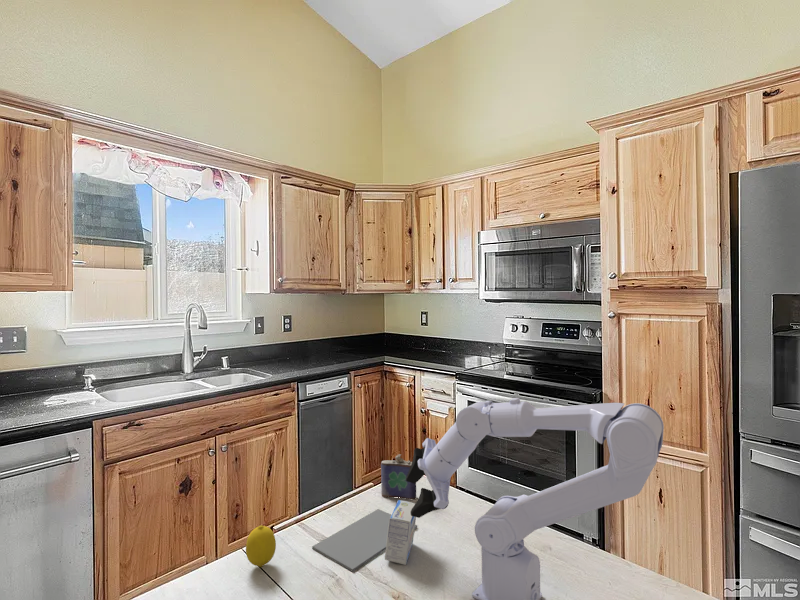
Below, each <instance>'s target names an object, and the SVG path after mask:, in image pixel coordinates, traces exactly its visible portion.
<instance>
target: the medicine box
mask: <svg viewBox="0 0 800 600" xmlns="http://www.w3.org/2000/svg"><path fill="white" fill-rule="evenodd" d="M415 504H416V502H411V501H407V500H403V499H401V500H400V499H397V502H396V505H395V506H394V508H393V511H392V513H391V517H390V519H389V525H388V534H387V542H386V549H385V550H384V551H385V553H384V560H385V561H387V562H392V563H396V564H401V565H405V566H406V565H407V563H408V559H409V557H410V553H411V550H412V547H413V543H414V536H415V530H416V529H415V525H416V520H417V517H414V516H411V510H412V508H413V506H414V505H415Z"/></svg>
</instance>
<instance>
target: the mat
mask: <svg viewBox="0 0 800 600" xmlns="http://www.w3.org/2000/svg"><path fill="white" fill-rule="evenodd" d="M391 515H392V513H389V512H387V511H383V510H381V509H380V508H378V509H375V510H374V511H372V512H370V513H368V514H367V515H365V516H363V517H361V518H360V519H358V520H356V521H354V522H353V523H351V524H349V525H347V526H346V527H344V528H342V529H340V530H338V531H337V532H335V533H334V534H332V535H330V536H328V537H325V538H324V539H323V540H320V542H318V543H315V544H314V545H313V546H311V548H312V549H313V550H314V551H315V552H317V553H319V554H321V555H323V556H324V557H326V558H328V559H329V560H332V561H333V562H335V563H337V564H338V565H340V566H342V568H343V567H344V568H346V569H347V570H349V571H350V572H352V573H353V572H355V571H356V570H358V569H360V568H361V567H362V566H363V565H365V564H366V563H368V562H370V561H371V560H372V559H374V558H375V557H377V556H378V555H379V554H382V553H383V552H384V551H386V542H387V534H388V525H389V519H390V517H391ZM417 528H418V525H417V524H415V530H416V529H417Z"/></svg>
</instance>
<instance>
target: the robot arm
mask: <svg viewBox="0 0 800 600" xmlns="http://www.w3.org/2000/svg"><path fill="white" fill-rule="evenodd" d="M623 406H624V407H623ZM537 430H553V431H554V430H557V431H577V432H578V431H579V432H580V431H581V432H586V433H588V434H589V435H590V436H591V437H592V438H593V439H595V441H596V442H597V443H598V444H600V445H603V443H604V442H605V440H606V443H607V447H608V452H609V458H608V463H607V465H604V466H601V467H599V468H596V469H593V470H591V471H588V472H586V473H583V474H581V475H578V476H575V477H574V478H571V479H569V480H565V481H563V482H561V483H558V484H556V485H554V486H551V487H548V488H544V489H543V490H540V491H538V492H536V493H535V492H534V493H532V494H530V495H527V494H524V493H523V494H522V495H519V496H512V495H502V496H501V497H499V498H498V499H497V500H496V501H495V503H494V504H493V505H492V507H490V508H489V509H488V511H486V512H485V514H483V515H481V516H480V517H479V518H478V519H477V520H476V522H475V525H474V534H475V535H474V536H475V537H476V540H477V542H478V543H479V546H480V547H481V583H480V585H478V587H477V588H475V589H474V591H472V593H471V597H472V598H474V599H476V600H541V599H542V596H543V593H542V592H541V561H540V558H539V556H538V555H537V554H535V553H533V552H532V551H530V550H529V548H527V547H526V545H525V541H524V539H526V537H528V536H529V535H531V534H532V533H533V532H535V531H537V530H539V529H542V528H545V527H548V526H551V525H554V524H557V523H560V522H563V521H566V520H569V519H572V518H574V517H578V516H581V515H583V514H587V513H590V512H592V511H596V510H599V509H601V508H604V507H607V506H610V505H612V504H616V503H618V502H621V501H625V500H627V499H630V498H633V497H636V496H638V495H639V494H640V493H641V492H642V490H643V488H644V487H645V484H646V483H647V480H648V479H649V477H650V475H651V473H652V471H653V470H654V468H655V466H656V465H657V462H658V458H659V454H660V451H661V449H662V446H663V443H664V430H665V427H664V420H663V419H662V416H661V415H660V414H659V412H657V410H655V409H654V408H653V407H652V406H650V405H647V404H644V403H638V402H637V403H634V402H633V403H630V404H627V405H625V403H622V402H605V403H603V402H601V403H591V404H578V405H577V404H576V405H564V406H553V407H550V406H549V407H540V408H536V406H534V405H532V403H530V402H529V401H527V400H526V401H524V400H523V401H521V398H520V397H512V398H511V399H510V400H509V401H506V402H504V401H503V402H493V400H492V399H491V400H485V401H477V402H475V403H472V404H470V405H468V406H466V407H464V408H462V409H461V410H460V411H459V412H458V413H457V415H456V418H455V422H454V423H453V424H452V426H450V427H449V428H448V430H447V431H446V432H445V433H444V435H443V436H442V437H441V438H440V440H439V441H437V443H436V440H435V439H432V438H430V437H426V439H424V441H423V442H422V443H421V444H422V448H419V447H415V449H413V456H412V461H411V462H412V464H411V467H410V469H409V472H408V474H407V477H406V481H408V482H411V483H414V484H415V483H416V484H417V483H418V482H419V481H420V480H421V479H422V478H423V477H424V476H425V477H426V480H427V481H428V483H429V485H430V487H431V489H432V490H430V489H427V488H425V487H421V488H420V493H419V497H418V499H417V501H416V502H415V505H414V506H413V508H412V510H411V516H414V517H416V518H417V519H420V518H421V517H423V516H425V515H427V514H429V513H431V512H434V511H438V510H444V509H447V508H448V506H449V504H450V501H449V492H450V485H451V477H452V476H453V475H454V474H455V473H456V472H457V470H458V469H459V468H460V467H461V466H462V465H463V464H464V463H465V461H467V459H468V458H469V457H470V456H471V454H473V452H474V451H475V450H476V448H477V446H478V445H479V443H481V442H482V440H483V439H484V438H485V437H486V436H490V437H494V438H527V437H528V438H531V437H532V436H533V435H534V434H535V432H536V431H537Z"/></svg>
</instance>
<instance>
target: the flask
mask: <svg viewBox="0 0 800 600" xmlns="http://www.w3.org/2000/svg"><path fill="white" fill-rule="evenodd" d="M401 456H402V454H400V453H399V454H396V456H395V457H394V458H395V460H388V459H387V460H382V461H381V463H380V468H381V469H380V473H381V474H380V475H381V477H380V478H381V479H380V480H381V481H380V482H381V489H380V491H381V492H380V493H381V497H384V498H386V499H387V498H388V497H389V498H390V497H398V499H402V498H406V499H405V500H409V499H413V500H416V499H415V498H417V482H416V483H415V484H414V483H411V482H408V481H406V477H407V474H408V472H409V469H410V467H411V464H412V461H410V460H404V458H402V457H401ZM399 497H400V498H399ZM389 498H388V499H389Z"/></svg>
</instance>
